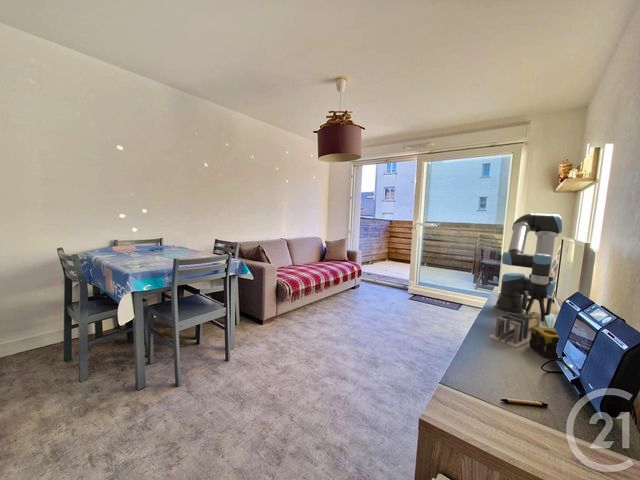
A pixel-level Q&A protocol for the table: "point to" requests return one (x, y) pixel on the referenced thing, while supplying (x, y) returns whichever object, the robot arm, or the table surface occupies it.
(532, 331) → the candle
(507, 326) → the collar
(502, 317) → the collar
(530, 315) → the long golden plank
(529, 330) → the long cream board
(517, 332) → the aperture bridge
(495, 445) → the table surface
